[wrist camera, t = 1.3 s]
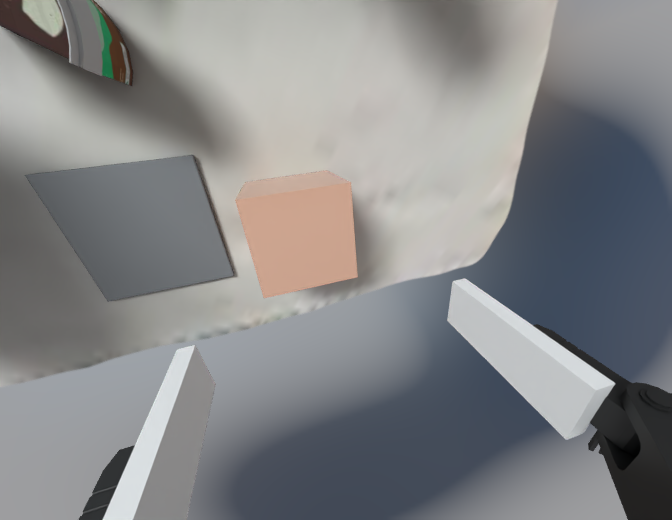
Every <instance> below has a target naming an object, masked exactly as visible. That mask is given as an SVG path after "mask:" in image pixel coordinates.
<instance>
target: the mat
mask: <svg viewBox="0 0 672 520" xmlns="http://www.w3.org/2000/svg"><path fill="white" fill-rule="evenodd" d="M25 176H26V178H27V179H28V181H29V182H30V184H31V185H32V187H33V188H34V190H35V191H36V193H37V194H38V196H39V197H40V199H41V201H42V202H43V204H44V205H45V207H46V208H47V210H48V211H49V213H50V214H51V216H52V217H53V219H54V220H55V222H56V223H57V225H58V226H59V228H60V229H61V231H62V232H63V234H64V235H65V237H66V239H67V240H68V242H69V243H70V245H71V246H72V248H73V249H74V251H75V252H76V254H77V255H78V257H79V258H80V260H81V261H82V263H83V264H84V266H85V267H86V269H87V270H88V272H89V273H90V275H91V277H92V278H93V280H94V281H95V283H96V284H97V286H98V287H99V289H100V290H101V292H102V293H103V295H104V296H105V298H106V299H107V301H112V300H117V299H122V298H127V297H132V296H137V295H142V294H147V293H152V292H156V291H161V290H166V289H171V288H176V287H181V286H186V285H191V284H196V283H200V282H205V281H210V280H215V279H220V278H225V277H230V276H234V272H233V269H232V266H231V263H230V260H229V258H228V255H227V252H226V249H225V246H224V243H223V240H222V237H221V234H220V231H219V228H218V225H217V222H216V219H215V217H214V214H213V211H212V208H211V205H210V202H209V199H208V196H207V193H206V190H205V187H204V184H203V181H202V179H201V176H200V173H199V170H198V167H197V164H196V161H195V158H194V155H189V156H181V157H173V158H164V159H156V160H147V161H139V162H131V163H122V164H114V165H105V166H97V167H89V168H80V169H72V170H63V171H55V172H47V173H38V174H30V175H25Z"/></svg>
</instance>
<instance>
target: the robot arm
mask: <svg viewBox="0 0 672 520" xmlns="http://www.w3.org/2000/svg"><path fill="white" fill-rule="evenodd" d="M447 321H448V322H449V323H450V324H451V325H452V326H453V327H454V328H455V329H456V330H457V331H458V332H459V333H460V334H461V335H462V336H463V337H464V338H465V339H467V341H468V342H469V343H470V344H471V345H472V346H473V347H474V348H475V349H476V350H477V351H478V352H479V353H480V354H481V355H482V356H483V357H484V358H485V359H486V360H487V361H488V362H489V363H490V364H491V365H492V366H493V367H494V368H495V369H496V370H497V371H498V372H499V373H500V374H501V375H502V376H503V377H505V379H506V380H507V381H508V382H509V383H510V384H511V385H512V386H513V387H514V388H515V389H516V390H517V391H518V392H519V393H520V394H521V395H522V396H523V397H524V398H525V399H526V400H527V401H528V402H529V403H531V405H532V406H533V407H534V408H535V409H536V410H537V411H538V412H539V413H540V414H541V415H542V416H543V417H544V418H545V419H546V420H547V421H548V422H549V423H550V424H551V425H552V426H553V427H554V428H555V429H556V430H557V431H558V432H559V433H560V434H561V435H562V436H563V437H564V438H565V439H566V440H568V439H570V438H573V437H575V436H578V435H580V434H582V433H584V432H585V430H586V428H587V427H588V425H589V424H590V423H591V424H592V425H593V426H595V428H597V429H598V430H597V432H596V433H595V435H594V436H593V437H592V439H591V440H590V442H589V443H588V446H589V450H591V451H594V449H595V448H596V446H597V445H598V444H599V445H600V450H599V453H600V454H602V455H603V456H604V458H605V461H606V463H607V466H608V469H609V471H610V474H611V477H612V479H613V482H614V484H615V487H616V490H617V492H618V495H619V498H620V500H621V503H622V505H623V508H624V511H625V513H626V516H627V519H628V520H672V394H670V393H668V392H666V391H664V390H662V389H660V388H658V387H654V386H651V385H649V384H644V383H631V382H629V381H627V380H626V379H624V378H622V377H621V376H619V375H618V374H616V373H615V372H613V371H612V370H610V369H609V368H607V367H606V366H604V365H603V364H601V363H600V362H598V361H597V360H595V359H594V358H592V357H591V356H589V355H588V354H586V353H585V352H583V351H582V350H579V349H578V348H577V347H576V346H574V345H573V344H571V343H570V342H567V341H566V340H565V339H564V338H562V337H561V336H559V335H558V334H556V333H555V332H553V331H552V330H549V329H547V328H544V327H542V326H540V325H537V324H536V325H533V326H532V325H531V324H530V323H528V322H527V321H525V320H524V319H522V318H521V317H520V316H518V315H517V314H515V313H514V312H512V311H511V310H509V309H508V308H507V307H505V306H504V305H502V304H501V303H499V302H498V301H497V300H495V299H494V298H492V297H491V296H489V295H488V294H487V293H485V292H484V291H482V290H481V289H479V288H478V287H476V286H475V285H474V284H472V283H471V282H469V281H468V280H466V279H461V280H457V281H453V283H452V290H451V299H450V305H449V313H448V320H447ZM215 385H216V384H215V383H214V381H213V379H212V377H211V375H210V373H209V371H208V369H207V367H206V365H205V363H204V361H203V359H202V357H201V355H200V353H199V351H198V349H197V348H196V345H193V346H189V347H185V348H180V349H177V351H176V353H175V355H174V358H173V360H172V362H171V364H170V367H169V369H168V371H167V374H166V376H165V378H164V381H163V383H162V385H161V388H160V390H159V392H158V394H157V397H156V399H155V401H154V403H153V406H152V408H151V410H150V413H149V415H148V417H147V419H146V422H145V424H144V426H143V429H142V431H141V433H140V435H139V438H138V440H137V442H136V445H135V446H131V447H128V448H124V449H121V450H119V451H118V452H117V454H116V455H115V456H114V458H113V459H112V460H111V462H110V463H109V464H108V465H107V466H106V468H105V469H104V470H103V472H102V474H101V476H100V478H99V480H98V482H97V484H96V486H95V488H94V490H93V492H92V493H93V495H92V496H91V497H90V498H89V500H88V502H87V504H86V506H85V508H84V510H83V515H82V516H80V518H79V520H186V519H187V515H188V510H189V505H190V501H191V496H192V491H193V487H194V482H195V477H196V472H197V468H198V464H199V459H200V454H201V450H202V445H203V440H204V435H205V431H206V427H207V422H208V417H209V412H210V408H211V403H212V399H213V394H214V389H215Z"/></svg>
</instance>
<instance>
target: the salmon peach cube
mask: <svg viewBox="0 0 672 520" xmlns="http://www.w3.org/2000/svg"><path fill="white" fill-rule="evenodd" d="M235 201H236V204H237V208H238V211H239V214H240V218H241V221H242V225H243V228H244V232H245V235H246V238H247V242H248V245H249V249H250V252H251V256H252V259H253V262H254V266H255V269H256V273H257V276H258V280H259V283H260V286H261V290H262V293H263V297H264V298H267V297H272V296H276V295H281V294H285V293H290V292H294V291H299V290H303V289H308V288H312V287H316V286H321V285H325V284H330V283H334V282H339V281H343V280H348V279H352V278H357V277H358V275H357V261H356V247H355V233H354V219H353V205H352V191H351V182H349V181H347V180H345V179H343V178H341V177H339V176H337V175H335V174H333V173H331V172H329V171H320V172H313V173H306V174H299V175H292V176H285V177H278V178H271V179H264V180H257V181H250V182H245V183H244V185H243V187H242V189H241V190H240V192H239V194H238V196H237V198H236V200H235Z"/></svg>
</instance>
